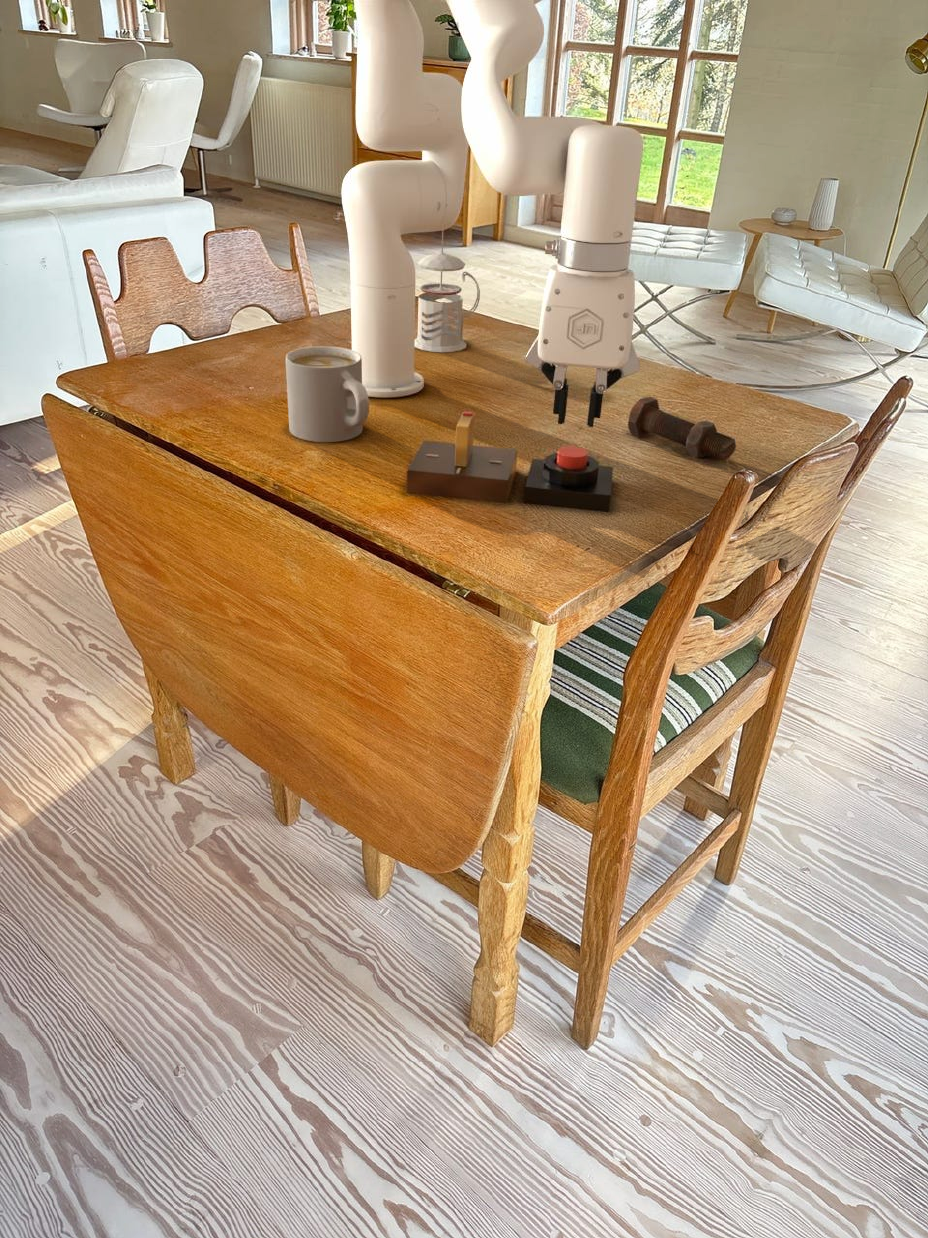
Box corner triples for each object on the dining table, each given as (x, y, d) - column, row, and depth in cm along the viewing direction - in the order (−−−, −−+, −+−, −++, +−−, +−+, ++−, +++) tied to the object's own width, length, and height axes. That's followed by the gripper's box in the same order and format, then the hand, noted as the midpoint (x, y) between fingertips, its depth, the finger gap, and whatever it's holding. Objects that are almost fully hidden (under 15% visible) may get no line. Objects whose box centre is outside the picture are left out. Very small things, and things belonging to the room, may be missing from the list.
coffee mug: (277, 423, 132) (273, 351, 127) (342, 412, 137) (340, 342, 132) (320, 455, 123) (317, 379, 118) (387, 443, 128) (388, 369, 122)
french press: (409, 336, 173) (412, 186, 160) (473, 337, 175) (480, 188, 162) (413, 351, 165) (416, 194, 152) (480, 352, 166) (488, 197, 153)
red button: (555, 469, 113) (556, 455, 112) (557, 458, 116) (558, 444, 115) (585, 472, 112) (587, 458, 111) (587, 461, 115) (588, 447, 114)
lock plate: (406, 493, 114) (406, 468, 112) (422, 462, 122) (423, 438, 121) (506, 503, 112) (508, 478, 111) (515, 471, 121) (517, 448, 119)
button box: (523, 503, 113) (526, 472, 111) (531, 474, 120) (533, 444, 118) (608, 512, 112) (612, 480, 109) (610, 482, 119) (614, 452, 117)
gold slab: (466, 467, 114) (468, 424, 111) (454, 465, 114) (456, 423, 111) (472, 452, 118) (474, 411, 115) (461, 450, 118) (463, 409, 115)
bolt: (720, 478, 126) (631, 441, 135) (743, 453, 128) (653, 418, 137) (716, 447, 122) (624, 411, 131) (739, 421, 123) (646, 388, 132)
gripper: (514, 256, 99) (502, 426, 109) (671, 268, 98) (646, 439, 107) (521, 244, 106) (510, 405, 115) (670, 254, 104) (646, 417, 114)
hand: (576, 420), depth 111 cm, fingers closed
